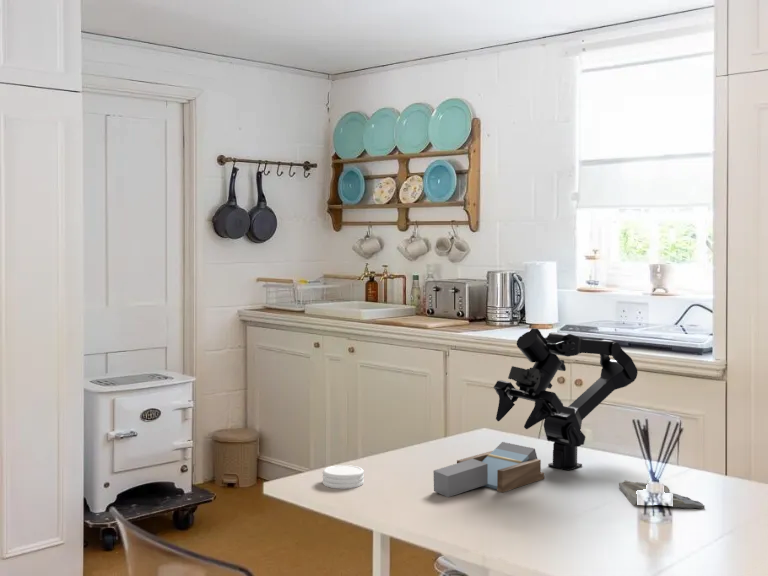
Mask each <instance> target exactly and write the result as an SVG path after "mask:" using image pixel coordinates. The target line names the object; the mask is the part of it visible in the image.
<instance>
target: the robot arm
mask: <svg viewBox="0 0 768 576" xmlns="http://www.w3.org/2000/svg"><path fill="white" fill-rule="evenodd" d="M516 346H517V348H518V349H519V350H520V351H521V353H522V354H523V356H525V357H526V359H527V360H528V361H529V362H530V363H534V364H533V366H532V367H529V368H527V369H526V368H523V367H518V366H514V365H512V366H511V368H510V371H509V375H508V377H507V378H508V379H509V380H512V381H515V385H516V386H517V387H519V389H517V388H516V387H515V386H514V385H513V384H512V382H511V381H510V382H509V381H506V380H502V379H500V380H497V381H496V383H495V384H494V386H493V389H494V391H495V392H496V394H497V395H498V399H499V400H498V406H497V412H496V415H495V420H496V421H497V422H500V421H501V420H502V419H503V418H504V417H505V416H506V415H507V414H508V413H509V412H510V411H511V409H513V407H514V406H515V402H517V401H518V399H523V400H527V401H530V402H531V401H532V402H534V407H533V409H532V411H531V413H530V414H529V415H528V418H526V421H525V423H524V426H523V428H524V429H525V430H528V429H530V428H532V427H534V426H535V425H537V424H538V423H540V422H541V421H544V422H543V430H544V433H545V437H546V440H547V441H548V442H553V447H552V448H553V450H552V462H550V463H548V464H547V466H548V467H551V468H557V469H560V470H561V469H562V470H566V471H571V470H574V469H578V468H580V467H583V463H579V462H578V447H581V446H583V445H584V444H585V441H586V435H585V434H584V433H583V431H582V430H581V429H582V425H583V423H582V422H583V420H584V419H585V418H586V417H587V416H588V415H590V413H592V412H593V411H594V410H595V409H596V408H597V407H598V406H599V405H600V404H601V403H603V401H604V400H606V398H607V397H608V396H610V395H611V394H612V393H613V392H614V391H616V390H619V389H623V388H626V387H627V386H629V385H630V384H632V383H634V382H635V380H636V379H637V377H638V372H639V371H638V369H637V365H636V364H635V363H634V361H633V358H631V356H630V355H629V354H628V353H627V352H626V351H624V350H623V349H622V347H621V345H620V343H619V342H617V341H616V340H609V339H601V340H599V339H589V338H581V337H579V336H578V335H575V334H571V333H564V332H556V331H552V332H550V333H548V335H547V336H546V337H544V336H543V334H542V332H541V331H540V329H538V328H533V327H532V328H531V329H530V331H527V332H525V333H523V334H522V335H520V336H519V337H518V338H517V340H516ZM580 354H590V355H591V354H592V355H599V356H600V357H599V358H600V359H599V361H600V362H599V364H600V365H601V371H600V377H599V378H598V379H597V380H596V381H595V382H594V383H592V384H591V385H590V386H589V387H588V388H587V389H585V390H584V392H582V393H581V394H580V395H579V396H578V397H577V398H576V399H575V400H573V402H572V403H570V404H569V405H568V406H564V404H563V401H562V400H561V399H560V398H559V396H558V395H557V394H556V392H553V391H549V390H547V389H552V387H553V384H552V383H551V382H552V380H553V379H554V377H555V375H556V374H557V372H558V371H561V372H565V371H566V370H567V367H566V365H565V364H566V363H565V360H564V359H560V358H559V357H558V356H561V357H575V356H578V355H580ZM610 357H612V358H610Z"/></svg>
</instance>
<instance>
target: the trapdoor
mask: <svg viewBox="0 0 768 576" xmlns="http://www.w3.org/2000/svg"><path fill="white" fill-rule="evenodd" d="M491 451H492V452H491V453H490V454H488V456H487V457H486V458H485V459H484V460H483V461H482V462H484V463H486V464H487V465H488V484H487V485H484V486H483V487H486V488H491V489H493V490H497V472H498V470H499V469H503V468H506V467H509V466H513V465H516V464H520V463H523V462H526V461H530V460H533V459H539V458H538V455H537V451H536V449H535V448H533V447H530V446H523V445H519V444H514V443H510V442H505V441H502V442H500V444H498V445H497V446H496V447H495V448H494V450H491Z"/></svg>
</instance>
